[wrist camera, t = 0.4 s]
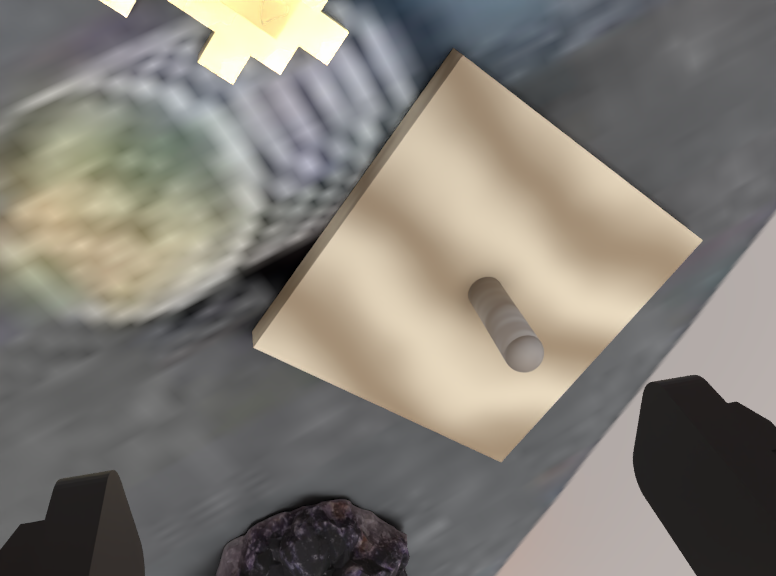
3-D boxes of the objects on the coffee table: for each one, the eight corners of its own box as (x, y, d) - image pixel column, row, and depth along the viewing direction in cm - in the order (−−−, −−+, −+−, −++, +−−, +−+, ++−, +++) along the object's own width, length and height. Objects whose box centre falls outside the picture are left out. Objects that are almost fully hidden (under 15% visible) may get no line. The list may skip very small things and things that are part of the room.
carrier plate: (453, 48, 32) (514, 93, 26) (687, 228, 40) (782, 300, 33) (252, 331, 37) (259, 431, 31) (493, 445, 45) (541, 546, 38)
